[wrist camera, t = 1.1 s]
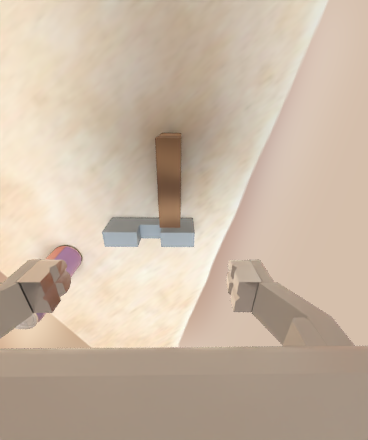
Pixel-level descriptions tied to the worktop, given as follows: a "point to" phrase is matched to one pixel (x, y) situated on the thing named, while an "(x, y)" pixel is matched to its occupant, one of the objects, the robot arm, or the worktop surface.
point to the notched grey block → (147, 232)
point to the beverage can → (72, 263)
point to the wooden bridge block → (169, 178)
